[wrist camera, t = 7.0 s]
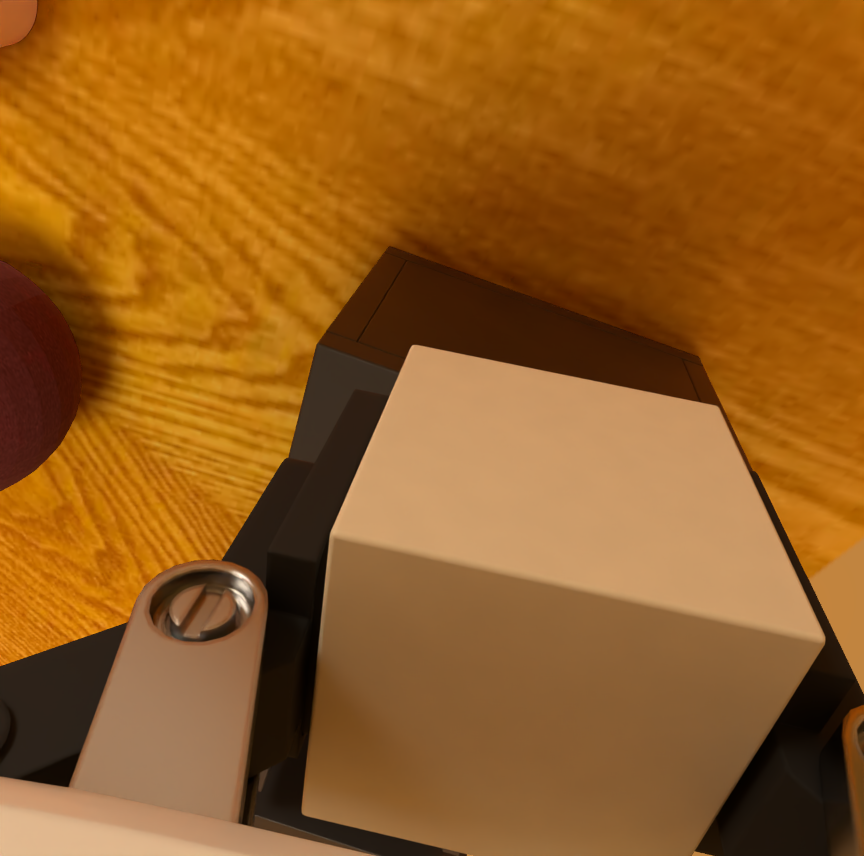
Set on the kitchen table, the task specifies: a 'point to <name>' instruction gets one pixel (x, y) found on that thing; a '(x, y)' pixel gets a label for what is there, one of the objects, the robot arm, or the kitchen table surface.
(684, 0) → the kitchen table surface
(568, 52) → the kitchen table surface
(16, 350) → the decorative ball
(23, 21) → the smoothie
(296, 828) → the drawer
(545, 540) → the block
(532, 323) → the cabinet
